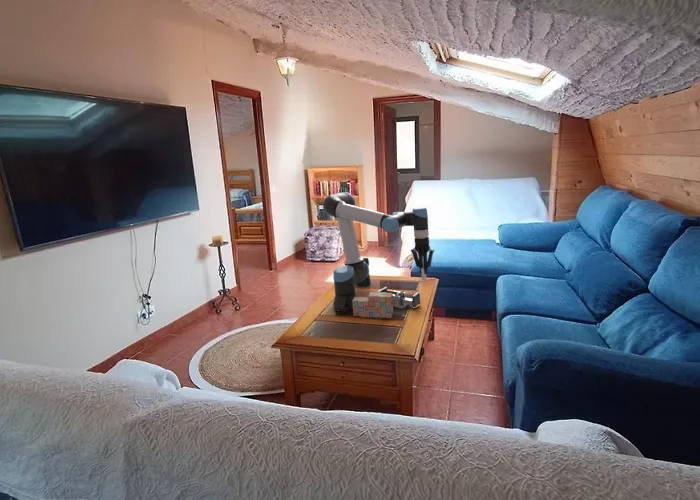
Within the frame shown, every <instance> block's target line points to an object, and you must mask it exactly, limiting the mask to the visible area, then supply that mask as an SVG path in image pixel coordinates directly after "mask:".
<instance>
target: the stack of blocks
mask: <svg viewBox="0 0 700 500" xmlns="http://www.w3.org/2000/svg"><path fill="white" fill-rule="evenodd" d="M352 306H353V311H352V317H353V316H362V317H361V318H377V317H379V318H381V319H392V318H393V315H394V307H393V294H392V293H387V292H377V291H375V292H374V291H373V292H371V291H370V292H369V294H368V296H367V297H366V296H357V297H354V299H353V301H352Z"/></svg>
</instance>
